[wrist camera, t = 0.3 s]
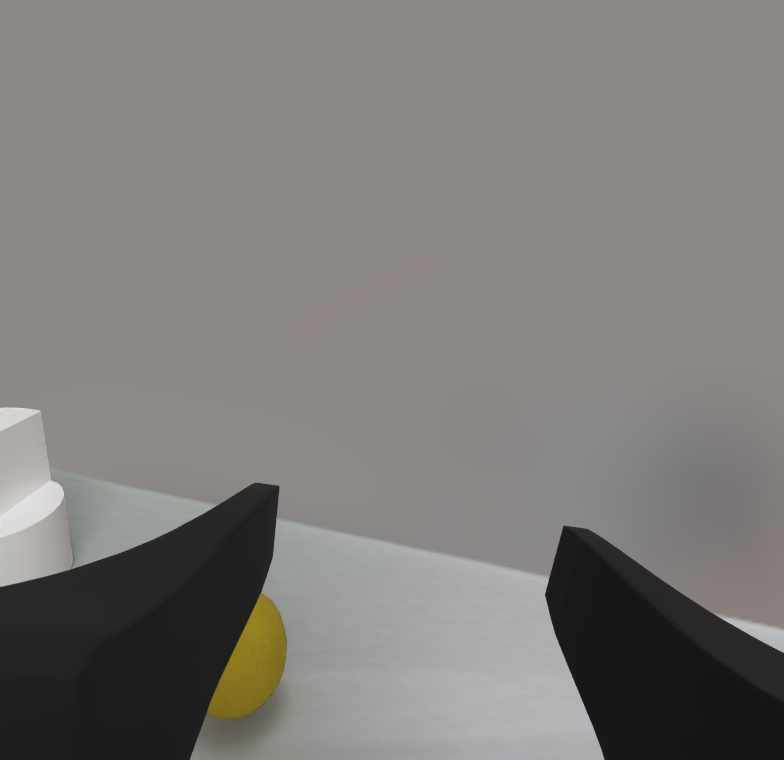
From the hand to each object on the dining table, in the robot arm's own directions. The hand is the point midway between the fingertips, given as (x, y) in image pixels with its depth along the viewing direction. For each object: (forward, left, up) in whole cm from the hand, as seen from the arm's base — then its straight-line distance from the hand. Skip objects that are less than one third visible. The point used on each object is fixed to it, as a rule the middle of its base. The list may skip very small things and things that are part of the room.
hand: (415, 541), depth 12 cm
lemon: (+11, +8, -21) cm, 25 cm away
